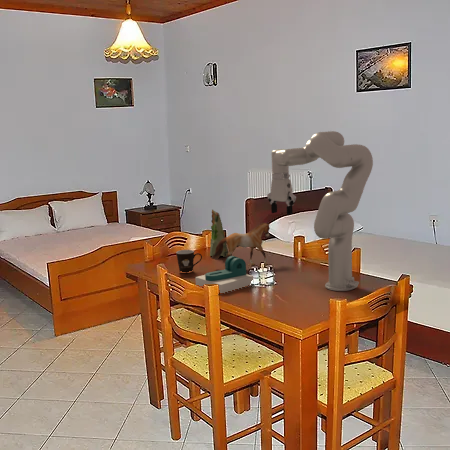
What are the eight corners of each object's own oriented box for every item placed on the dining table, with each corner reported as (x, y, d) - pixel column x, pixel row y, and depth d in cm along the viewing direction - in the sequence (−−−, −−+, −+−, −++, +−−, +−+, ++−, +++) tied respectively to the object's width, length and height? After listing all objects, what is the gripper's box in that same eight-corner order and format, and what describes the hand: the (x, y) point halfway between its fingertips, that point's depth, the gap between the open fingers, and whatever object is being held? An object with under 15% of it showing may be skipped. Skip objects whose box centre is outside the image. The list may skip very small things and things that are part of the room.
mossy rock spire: (222, 259, 293) (219, 212, 288) (203, 257, 299) (200, 211, 295) (233, 254, 302) (231, 209, 297) (215, 252, 308) (212, 208, 304)
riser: (253, 284, 243) (253, 276, 243) (221, 294, 232) (220, 284, 232) (227, 277, 257) (227, 269, 257) (195, 285, 246) (195, 277, 246)
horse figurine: (270, 261, 283) (269, 221, 280) (275, 264, 276) (274, 223, 272) (211, 268, 275) (208, 227, 272) (215, 272, 268) (212, 230, 264)
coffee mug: (174, 273, 269) (173, 253, 267) (182, 269, 277) (180, 249, 275) (196, 274, 265) (195, 254, 263) (203, 270, 273) (202, 250, 271)
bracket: (238, 271, 251) (237, 254, 250) (246, 274, 245) (245, 257, 244) (202, 278, 243) (201, 261, 241) (209, 282, 237) (208, 264, 235)
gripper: (300, 176, 250) (301, 214, 253) (272, 175, 263) (274, 211, 266) (288, 177, 245) (290, 216, 248) (261, 176, 258) (262, 213, 261)
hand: (281, 213), depth 257 cm, fingers open, 9 cm apart
